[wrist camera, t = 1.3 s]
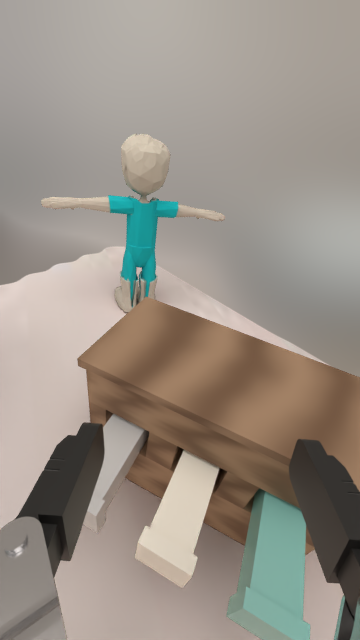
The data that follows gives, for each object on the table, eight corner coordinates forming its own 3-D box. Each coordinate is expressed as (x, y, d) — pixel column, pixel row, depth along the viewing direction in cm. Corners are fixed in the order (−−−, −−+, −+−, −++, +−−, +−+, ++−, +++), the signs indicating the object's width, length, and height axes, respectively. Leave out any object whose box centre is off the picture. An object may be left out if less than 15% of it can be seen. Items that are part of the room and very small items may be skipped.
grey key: (57, 508, 21) (50, 488, 19) (120, 419, 28) (121, 396, 26) (97, 534, 20) (95, 516, 18) (152, 436, 27) (156, 414, 25)
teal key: (226, 616, 18) (242, 607, 16) (251, 486, 25) (265, 467, 22) (283, 653, 17) (309, 649, 15) (293, 508, 24) (312, 490, 22)
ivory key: (134, 557, 20) (137, 542, 17) (181, 450, 26) (188, 429, 24) (182, 588, 19) (192, 576, 16) (218, 469, 25) (229, 449, 23)
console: (88, 461, 31) (77, 358, 21) (137, 393, 39) (146, 296, 29) (287, 575, 26) (402, 511, 16) (295, 469, 34) (373, 382, 24)
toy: (195, 289, 65) (226, 144, 48) (207, 312, 58) (250, 153, 41) (59, 289, 57) (34, 113, 39) (54, 317, 50) (23, 117, 32)
